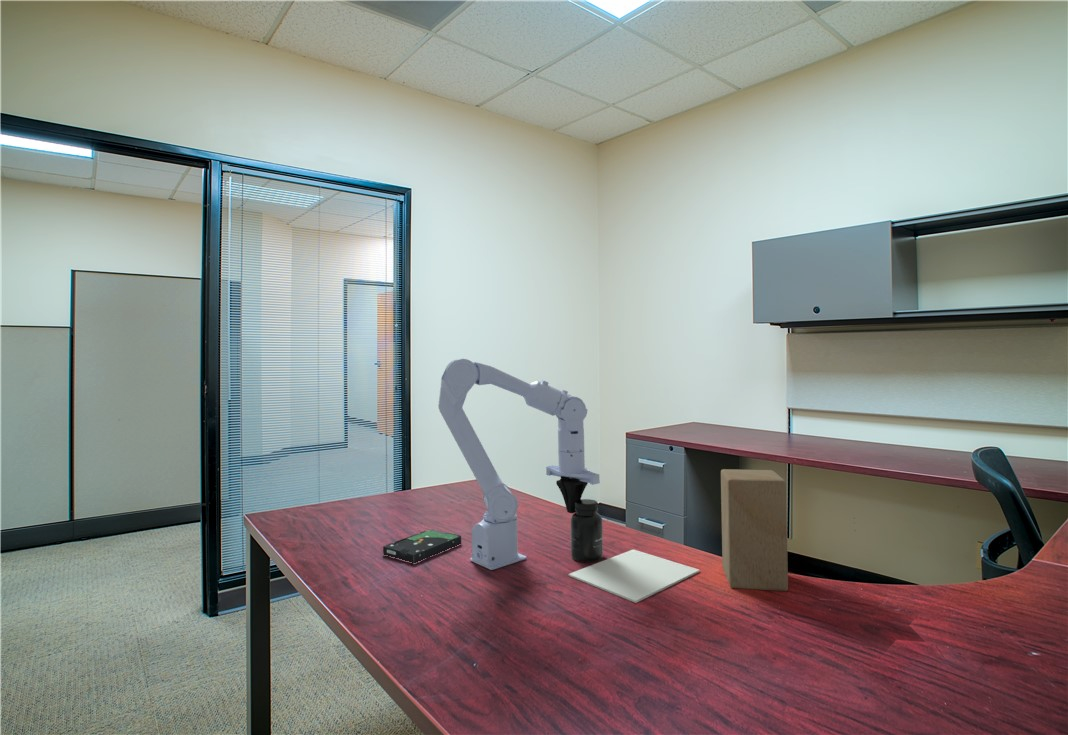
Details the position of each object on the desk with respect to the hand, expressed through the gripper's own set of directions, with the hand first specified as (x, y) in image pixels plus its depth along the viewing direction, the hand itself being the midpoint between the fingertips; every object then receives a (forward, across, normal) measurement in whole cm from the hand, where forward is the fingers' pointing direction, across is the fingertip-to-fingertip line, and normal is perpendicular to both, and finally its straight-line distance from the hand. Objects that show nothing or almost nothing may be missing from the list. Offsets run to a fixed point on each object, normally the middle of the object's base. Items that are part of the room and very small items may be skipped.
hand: (572, 512), depth 119 cm
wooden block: (+9, -34, -14) cm, 38 cm away
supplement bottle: (+9, -4, 0) cm, 10 cm away
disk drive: (+10, +25, +23) cm, 35 cm away
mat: (+9, -17, 0) cm, 19 cm away
